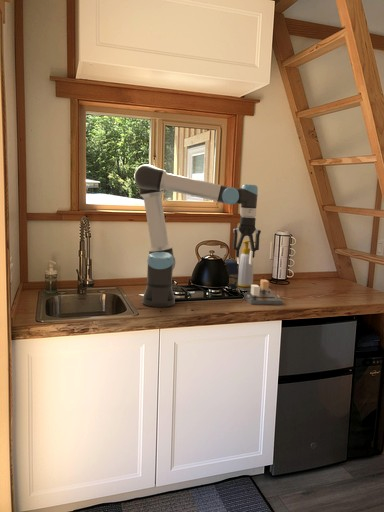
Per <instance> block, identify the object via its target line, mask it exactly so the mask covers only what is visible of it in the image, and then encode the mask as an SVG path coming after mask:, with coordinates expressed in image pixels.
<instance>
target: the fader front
mask: <svg viewBox="0 0 384 512" xmlns="http://www.w3.org/2000/svg"><path fill="white" fill-rule="evenodd" d="M250 288H251V294H252V295H253V296H254V297H256V296H259V293H260V285H258V284H253V285H251V287H250Z"/></svg>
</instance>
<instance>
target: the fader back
mask: <svg viewBox="0 0 384 512" xmlns="http://www.w3.org/2000/svg"><path fill="white" fill-rule="evenodd" d="M269 286H270V281H268V280H267V279H260V283H259V287H260V288H261V289H263V291H265V290H268V289H269Z"/></svg>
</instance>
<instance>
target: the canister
mask: <svg viewBox="0 0 384 512" xmlns="http://www.w3.org/2000/svg"><path fill="white" fill-rule="evenodd" d="M224 260H225V264H226V266H227V270H228V275H229V284H230V285H229V287H228V288H227V289H234V288H239V286H238V276H239V264H237V260H236V259H234V258H227V259H224Z"/></svg>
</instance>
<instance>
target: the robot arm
mask: <svg viewBox="0 0 384 512" xmlns="http://www.w3.org/2000/svg"><path fill="white" fill-rule="evenodd" d="M133 177H134V181H135V184H136V186H138V192H139V196H140V197H142V198H143V202H144V208H145V209H144V210H145V213H146V220H147V221H146V222H147V227H148V233H149V240H150V248H149V250H148V253H149V254H148V257H147V270H146V272H147V276H146V288H145V291H144V294H143V296H142V304H143V305H145V306H147V307H148V306H149V307H154V308H167V307H173V306H174V305H175V303H176V301H175V300H176V298H175V294H174V291H173V286H172V285H173V271H174V269H175V267H176V258H175V256H174V251H173V246H172V245H171V244H169V239H168V231H167V225H166V218H165V213H164V205H163V200H162V195H163V193H164V190H165V191H168V192H173V193H178V194H183V195H186V196H191V197H196V198H200V199H204V200H209V201H214V202H217V203H219V204H226V205H231V206H232V205H235V204H236V205H237V204H238V205H240V212H239V213H240V217H239V227H236V228H232V229H233V230H232V231H233V239H232V240H233V241H232V249H233V250H235V257H236V258H237V260H236V261H237V264H240V258H241V254H242V250H241V247H242V244H243V241H244V238H245V237H248V241H250V242H249V244H250V255H249V264H250V265H252V262H253V259H254V258H255V255H256V251H259V250H260V235H261V230H260V229H257V227H256V220H257V219H256V216H257V206H258V204H257V203H258V196H259V194H258V190H259V189H258V186H257V185H256V184H242V186H241V187H237V188H236V187H232V186H225V185H221V184H218V183H213V182H208V181H204V180H199V179H195V178H191V177H187V176H182V175H177V174H173V173H168V172H167V171H166V170H165V169H161V168H159V167H157V166H155V165H151V164H149V163H148V164H147V163H146V164H141V165H140V166H139V167H138V168H137V169H136V170H135V173H134V176H133ZM238 233H240V236H239V239H238ZM254 233H255V239H254V236H253V235H254ZM254 242H255V243H254Z"/></svg>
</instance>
